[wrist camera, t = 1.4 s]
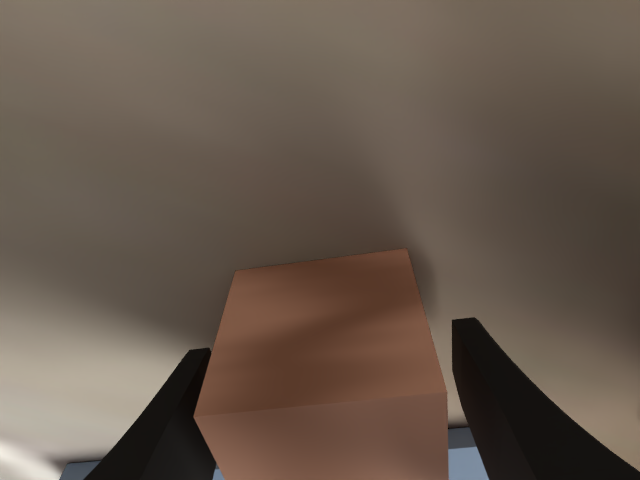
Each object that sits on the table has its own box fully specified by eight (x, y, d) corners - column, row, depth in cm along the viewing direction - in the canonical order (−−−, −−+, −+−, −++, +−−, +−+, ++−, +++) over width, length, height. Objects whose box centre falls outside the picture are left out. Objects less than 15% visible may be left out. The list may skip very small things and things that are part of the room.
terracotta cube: (406, 246, 13) (446, 391, 8) (415, 366, 15) (449, 523, 11) (235, 269, 13) (192, 416, 9) (273, 381, 16) (254, 536, 12)
